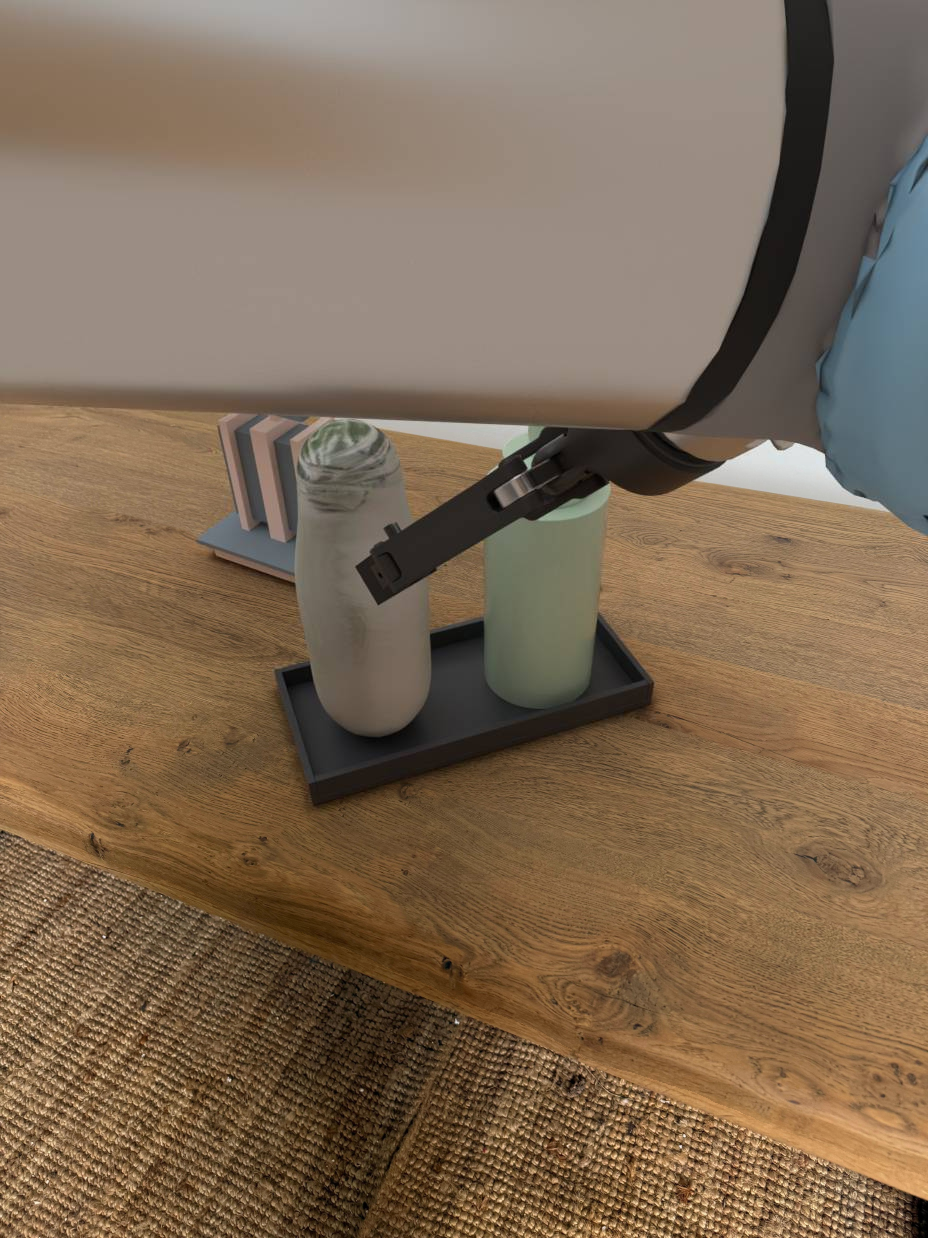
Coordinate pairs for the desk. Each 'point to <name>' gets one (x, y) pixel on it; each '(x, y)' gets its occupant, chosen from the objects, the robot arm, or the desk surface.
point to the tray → (449, 714)
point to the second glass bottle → (543, 598)
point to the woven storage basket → (261, 491)
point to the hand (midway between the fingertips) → (452, 537)
